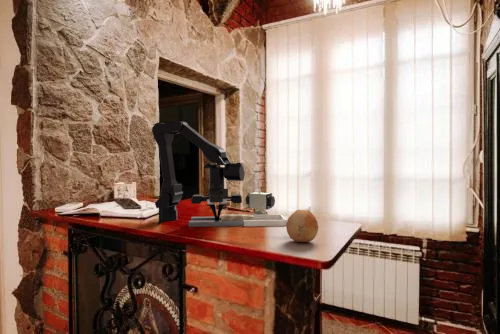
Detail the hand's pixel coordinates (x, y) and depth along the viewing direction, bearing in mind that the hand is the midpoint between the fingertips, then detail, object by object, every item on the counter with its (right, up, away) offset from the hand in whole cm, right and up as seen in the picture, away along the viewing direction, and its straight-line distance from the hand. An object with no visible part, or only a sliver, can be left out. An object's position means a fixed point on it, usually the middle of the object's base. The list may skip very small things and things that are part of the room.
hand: (217, 221), depth 117 cm
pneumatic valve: (+17, -1, +13) cm, 22 cm away
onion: (+29, -3, -22) cm, 36 cm away
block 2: (+7, -1, +1) cm, 8 cm away
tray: (+18, -2, +1) cm, 18 cm away
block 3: (+11, -1, +1) cm, 12 cm away
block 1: (+3, -1, 0) cm, 4 cm away
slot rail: (0, -2, 0) cm, 2 cm away
